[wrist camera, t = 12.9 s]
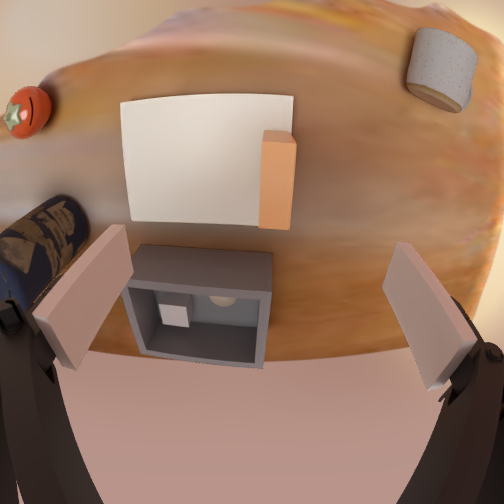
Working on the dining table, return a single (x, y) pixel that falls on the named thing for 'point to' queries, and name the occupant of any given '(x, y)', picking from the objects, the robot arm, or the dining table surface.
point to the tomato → (27, 112)
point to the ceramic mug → (441, 69)
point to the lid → (210, 159)
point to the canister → (39, 249)
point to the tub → (200, 304)
